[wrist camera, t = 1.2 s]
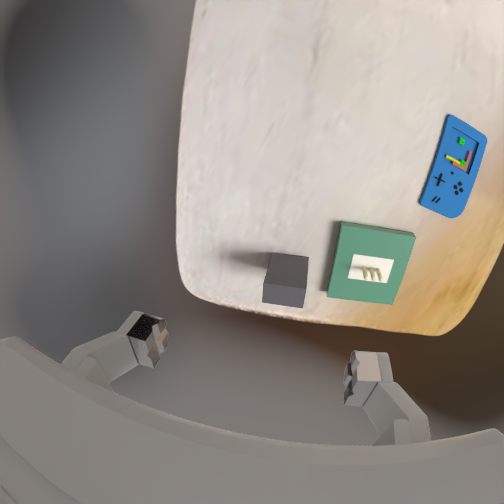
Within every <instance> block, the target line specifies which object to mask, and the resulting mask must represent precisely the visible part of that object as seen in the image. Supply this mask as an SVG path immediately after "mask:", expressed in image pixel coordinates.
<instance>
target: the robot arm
mask: <svg viewBox="0 0 504 504" xmlns="http://www.w3.org/2000/svg"><path fill="white" fill-rule="evenodd" d="M165 326H166V321H165V319H163V318H159V317H156V316H152V315H149V314H146V313H142V312H139V311H134V312H133V313H132V314H131V315H130V316H129V317H128V319H127V320H126V321H125V322H124V323H123V325H122V326H121V327H120V328H119V330H118V331H117V332H111V333H109V334H107V335H104V336H102V337H100V338H97V339H95V340H92V341H90V342H88V343H85V344H83V345H80V346H78V347H75V348H74V349H73V350H72V351H71V352H70V354H69V355H68V356H67V357H66V359H65V360H64V361H63V362H62V363H61V364H58V363H56V362H55V361H53V360H52V359H50V358H48V357H47V356H45V355H44V354H42V353H40V352H39V351H37V350H36V349H34V348H33V347H31V346H30V345H28V344H27V343H25V342H24V341H23V340H21V339H20V338H18V337H10V338H6V339H3V340H0V504H504V435H503V434H502V433H501V432H499V431H498V430H497V429H488V430H484V431H480V432H476V433H472V434H467V435H463V436H458V437H453V438H447V439H441V440H435V441H431V437H430V430H429V424H428V418H427V416H426V415H425V414H424V413H423V411H422V410H421V409H420V408H419V407H418V406H417V405H416V404H415V402H414V401H413V400H412V399H411V398H410V397H409V396H408V395H407V394H406V393H405V391H404V390H403V389H402V388H401V387H400V386H399V385H398V384H397V383H394V382H393V377H392V371H391V366H390V361H389V356H388V354H387V353H381V352H365V351H364V352H363V351H353V352H352V354H351V362H349V363H348V364H347V366H346V369H345V373H344V385H345V386H346V389H345V391H344V405H349V406H363V409H364V411H365V412H366V414H367V416H368V417H369V419H370V421H371V422H372V424H373V425H374V427H375V429H376V430H377V432H378V433H379V435H380V437H379V438H378V439H377V440H376V441H375V442H374V443H373V444H372V445H371V446H339V445H338V446H337V445H320V444H308V443H298V442H289V441H282V440H275V439H268V438H262V437H256V436H251V435H246V434H241V433H236V432H232V431H227V430H223V429H219V428H215V427H211V426H207V425H203V424H199V423H196V422H193V421H189V420H186V419H183V418H179V417H176V416H173V415H170V414H167V413H164V412H162V411H159V410H156V409H153V408H150V407H148V406H145V405H143V404H140V403H138V402H135V401H133V400H130V399H128V398H126V397H123V396H121V395H119V394H116V393H114V392H113V389H112V388H111V386H110V384H109V382H111V381H113V380H114V379H116V378H117V377H119V376H121V375H122V374H124V373H126V372H127V371H129V370H131V369H132V368H134V367H135V366H137V365H138V364H141V365H144V366H147V367H151V368H155V366H156V364H157V363H158V361H159V360H160V353H162V352H164V351H165V350H166V348H167V346H168V342H169V334H168V332H167V331H166V329H165Z"/></svg>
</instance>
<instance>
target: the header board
mask: <svg viewBox="0 0 504 504" xmlns="http://www.w3.org/2000/svg"><path fill="white" fill-rule="evenodd" d="M415 239H416V237H415V235H414V234H413V233H410V232H404V231H399V230H393V229H387V228H381V227H374V226H368V225H362V224H355V223H348V222H341V226H340V232H339V237H338V242H337V247H336V252H335V257H334V262H333V267H332V271H331V276H330V280H329V285H328V289H327V297H331V298H339V299H347V300H355V301H364V302H373V303H382V304H391V305H392V304H393V302H394V299H395V297H396V294H397V292H398V289H399V286H400V284H401V281H402V278H403V276H404V273H405V270H406V267H407V264H408V261H409V258H410V255H411V252H412V248H413V245H414V242H415Z"/></svg>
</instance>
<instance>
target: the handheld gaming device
mask: <svg viewBox="0 0 504 504" xmlns="http://www.w3.org/2000/svg"><path fill="white" fill-rule="evenodd" d="M486 143H487V138H486V136H485V135H483V134H482V133H480V132H479V131H477V130H476V129H474V128H473V127H471V126H470V125H468V124H467V123H465V122H463V121H462V120H460V119H458V118H457V117H455V116H453V115H448V116H447V118H446V122H445V126H444V130H443V133H442V137H441V140H440V144H439V147H438V150H437V154H436V157H435V160H434V163H433V166H432V169H431V172H430V175H429V177H428V180H427V183H426V186H425V188H424V191H423V194H422V196H421V199H420V204H421V205H422V206H424V207H426V208H428V209H431V210H433V211H435V212H437V213H440V214H442V215H444V216H446V217H449V218H455V217H458V216H459V215H460V214H461V213H462V212H463V210H464V208H465V206H466V203H467V201H468V198H469V195H470V193H471V190H472V187H473V185H474V182H475V179H476V176H477V173H478V170H479V167H480V164H481V161H482V157H483V154H484V151H485V147H486Z"/></svg>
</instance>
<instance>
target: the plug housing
mask: <svg viewBox="0 0 504 504" xmlns="http://www.w3.org/2000/svg"><path fill="white" fill-rule="evenodd" d="M308 260H309V257H302V256H295V255H287V254H280V253H272V257H271V260H270V263H269V267H268V270H267V273H266V276H265V280H264V283H263V297H262V302H264V303H270V304H277V305H284V306H290V307H298V308H303V304H304V299H305V293H306V287H307V274H308Z"/></svg>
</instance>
